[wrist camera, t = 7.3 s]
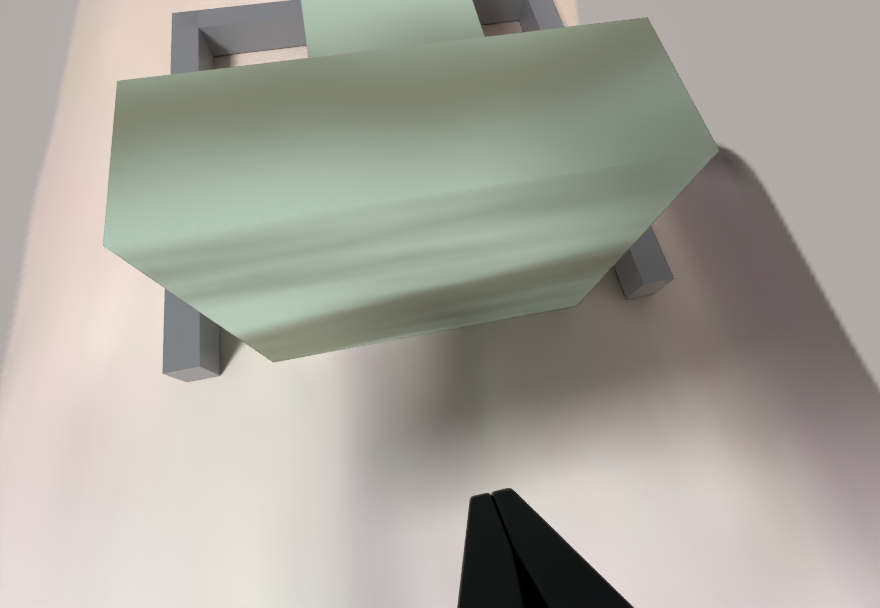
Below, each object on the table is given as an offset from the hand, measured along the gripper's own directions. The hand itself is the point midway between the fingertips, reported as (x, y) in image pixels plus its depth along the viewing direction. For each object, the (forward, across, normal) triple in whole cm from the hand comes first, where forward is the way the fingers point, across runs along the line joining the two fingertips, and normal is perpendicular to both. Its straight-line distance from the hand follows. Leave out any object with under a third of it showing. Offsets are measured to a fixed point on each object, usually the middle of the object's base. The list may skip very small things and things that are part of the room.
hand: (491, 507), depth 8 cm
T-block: (+14, 0, -5) cm, 14 cm away
